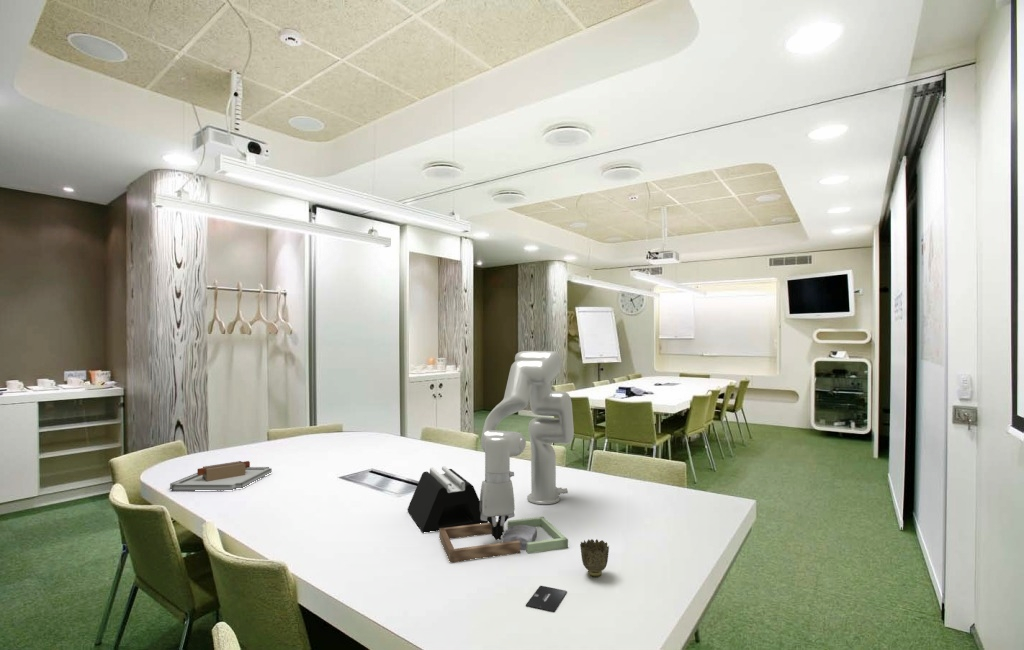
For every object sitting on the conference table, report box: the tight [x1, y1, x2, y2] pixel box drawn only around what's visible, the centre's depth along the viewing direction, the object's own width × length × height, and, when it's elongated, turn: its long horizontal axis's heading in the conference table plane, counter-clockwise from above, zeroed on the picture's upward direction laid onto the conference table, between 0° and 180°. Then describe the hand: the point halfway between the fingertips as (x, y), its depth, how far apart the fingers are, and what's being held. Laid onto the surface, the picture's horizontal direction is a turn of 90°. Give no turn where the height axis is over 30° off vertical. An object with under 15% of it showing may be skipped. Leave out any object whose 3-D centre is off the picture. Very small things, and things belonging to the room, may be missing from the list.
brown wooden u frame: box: [438, 521, 521, 563], centre depth 146 cm, size 20×18×3 cm
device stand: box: [407, 466, 489, 534], centre depth 171 cm, size 22×22×15 cm
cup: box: [579, 538, 610, 579], centre depth 127 cm, size 8×7×8 cm
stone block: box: [501, 525, 538, 551], centre depth 149 cm, size 12×5×10 cm
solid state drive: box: [525, 585, 568, 613], centre depth 116 cm, size 7×10×1 cm
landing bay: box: [507, 516, 569, 554], centre depth 152 cm, size 12×20×2 cm, turn 18°
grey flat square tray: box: [169, 460, 273, 492], centre depth 216 cm, size 30×30×8 cm
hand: (497, 538), depth 148 cm, fingers closed
